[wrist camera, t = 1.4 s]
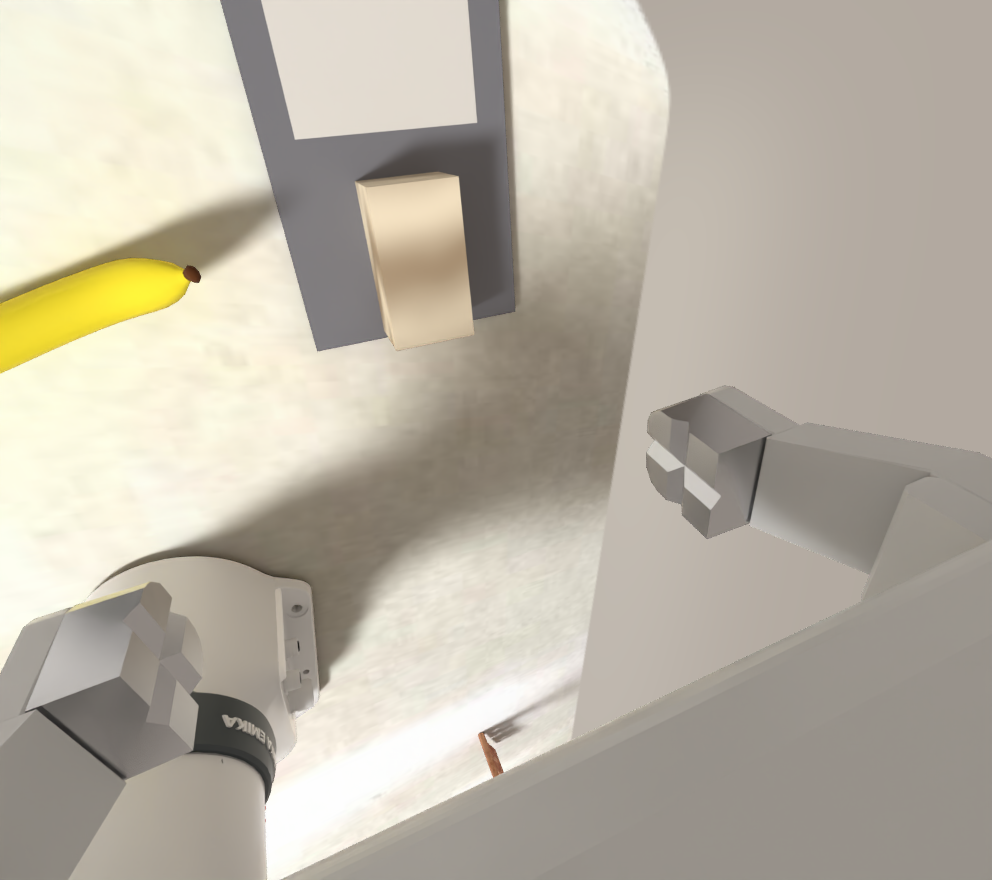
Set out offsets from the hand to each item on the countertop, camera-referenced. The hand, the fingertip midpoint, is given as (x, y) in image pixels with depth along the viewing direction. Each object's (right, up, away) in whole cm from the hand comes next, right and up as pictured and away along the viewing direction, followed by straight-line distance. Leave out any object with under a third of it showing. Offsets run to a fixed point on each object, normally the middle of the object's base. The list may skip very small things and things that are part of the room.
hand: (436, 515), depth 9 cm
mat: (-5, +18, +22) cm, 29 cm away
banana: (-24, +8, +20) cm, 32 cm away
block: (-4, +13, +24) cm, 28 cm away
